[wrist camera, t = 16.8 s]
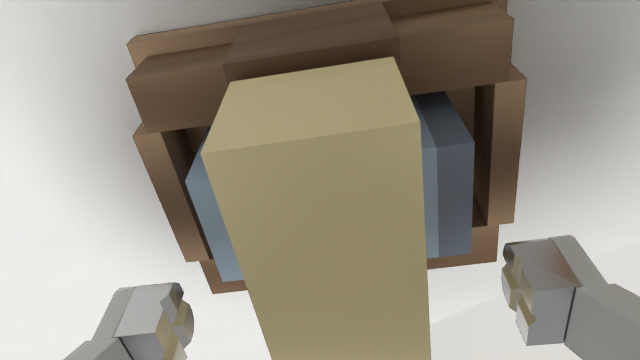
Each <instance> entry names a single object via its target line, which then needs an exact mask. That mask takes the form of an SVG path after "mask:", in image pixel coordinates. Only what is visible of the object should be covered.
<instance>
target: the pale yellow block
mask: <svg viewBox="0 0 640 360" xmlns="http://www.w3.org/2000/svg"><path fill="white" fill-rule="evenodd" d="M200 154H201V157H202V160H203V163H204V166H205V169H206V172H207V175H208V177H209V180H210V183H211V186H212V189H213V192H214V195H215V198H216V200H217V203H218V206H219V209H220V212H221V215H222V218H223V220H224V223H225V226H226V229H227V232H228V235H229V238H230V241H231V243H232V246H233V249H234V252H235V255H236V258H237V261H238V264H239V266H240V269H241V272H242V275H243V278H244V281H245V284H246V286H247V289H248V292H249V295H250V298H251V301H252V304H253V307H254V309H255V312H256V315H257V318H258V321H259V324H260V327H261V330H262V332H263V335H264V338H265V341H266V344H267V347H268V350H269V352H270V355H271V358H272V360H431V347H430V325H429V303H428V281H427V258H426V236H425V214H424V192H423V170H422V147H421V125H420V120H419V117H418V115H417V113H416V110H415V108H414V105H413V103H412V101H411V98H410V96H409V93H408V91H407V88H406V86H405V84H404V81H403V79H402V76H401V74H400V71H399V69H398V67H397V64H396V62H395V59H394V57H387V58H380V59H374V60H367V61H361V62H354V63H348V64H342V65H335V66H329V67H322V68H316V69H310V70H303V71H297V72H290V73H284V74H278V75H271V76H265V77H258V78H252V79H245V80H239V81H233V82H230V84H229V86H228V89H227V91H226V93H225V96H224V98H223V100H222V103H221V105H220V108H219V110H218V112H217V115H216V117H215V119H214V122H213V124H212V127H211V129H210V131H209V134H208V136H207V138H206V141H205V143H204V146H203V148H202V150H201V153H200Z"/></svg>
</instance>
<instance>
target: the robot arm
mask: <svg viewBox="0 0 640 360" xmlns="http://www.w3.org/2000/svg"><path fill="white" fill-rule="evenodd" d="M503 257H504V259H505V261H506V263H507V264H506V265H505V266H504V267H503V268H502V277H501V280H502V287H503V292H504V295H505V298H506V301H507V303H508V306H509V307H510V308H511V309H512V310H514V311H516V312H517V315H516V324H517V326H518V328H519V330H520V333H521V335H522V337H523V339H524V342H525V344H526V346H530V345H543V344H557V343H565V346H567V347H568V348H569V349H570V350H572V351H573V352H574V353H575V354H576V355H577V356H579V357H580V358H581V359H582V360H640V297H639V296H637V295H636V294H634V293H632V292H630V291H628V290H626V289H624V288H622V287H620V286H619V285H617V284H608V283H607V282H606V280H605V279H604V278H603V276H602V275H601V273H600V272H599V271H598V270H597V268H596V266H595V265H594V264H593V262H592V261H591V259H590V258H589V257H588V255H587V254H586V252H585V251H584V250H583V248H582V247H581V246H580V244H579V243H578V241H577V240H576V239H575V237H573V236H571V235H566V236H558V237H550V238H544V239H536V240H528V241H520V242H512V243H506V244H505V246H504V250H503ZM183 293H184V292H183V290H182V288H181V286H180V284H179V283H175V282H174V283H163V284H153V285H142V286H136V287H124V288H119V289H118V290H117V291H116V292H115V293H114V295H113V297H112V299H111V301H110V303H109V305H108V307H107V309H106V311H105V313H104V316H103V318H102V320H101V322H100V324H99V326H98V328H97V330H96V332H95V334H94V336H93V338H92V340H91V341H85V342H84V343H83V344H82V345H80V346H79V347H78V348H77V349H76V350H74V351H73V352H72V353H71V354H70V355H69V356H67V357H66V358H65V359H64V360H186V359H187V355H186V353H185V351H184V348H185V347H186V346H187V345H188V344H189V343H190V342H191V340H192V336H193V332H194V317H193V313H192V310H191V307H190V305H189V304H188V303H186V302H185V301H183V300H182V297H183Z"/></svg>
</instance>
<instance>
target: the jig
mask: <svg viewBox="0 0 640 360" xmlns="http://www.w3.org/2000/svg"><path fill="white" fill-rule="evenodd" d="M513 23H514V19H513V18H512V17H511V16H509V15H508V14H507V0H355V1H349V2H343V3H337V4H331V5H325V6H318V7H312V8H306V9H300V10H294V11H288V12H282V13H276V14H269V15H263V16H257V17H251V18H245V19H239V20H233V21H227V22H221V23H214V24H208V25H202V26H196V27H190V28H184V29H178V30H172V31H166V32H159V33H153V34H147V35H141V36H135V37H133V38H132V39H131V40H130V41H129V42H128V43H127V47H128V50H129V52H130V55H131V57H132V60H133V63H134V65H135V68H136V69H135V70H134V71H133V72H132V73H131V74H130V75H129V76H128V77H127V78H126V82H127V84H128V87H129V89H130V92H131V94H132V96H133V99H134V101H135V104H136V106H137V109H138V111H139V114H140V116H141V119H142V121H143V122H142V123H141V125H140V126H139V127H138V129H137V130H136V132H135V133H134V135H133V136H132V137H133V139H134V141H135V144H136V146H137V148H138V151H139V153H140V155H141V158H142V160H143V162H144V165H145V167H146V169H147V172H148V174H149V176H150V179H151V181H152V183H153V186H154V188H155V190H156V193H157V195H158V197H159V200H160V202H161V204H162V207H163V209H164V211H165V214H166V216H167V218H168V221H169V223H170V225H171V228H172V230H173V233H174V235H175V237H176V240H177V242H178V244H179V247H180V249H181V251H182V254H183V256H184V258H185V261H186V262H193V261H199V262H200V264H201V267H202V269H203V272H204V274H205V276H206V279H207V281H208V284H209V286H210V289H211V291H212V294H218V293H226V292H235V291H244V290H248V289H247V286H246V284H245V281H244V280H237V281H229V282H223V281H222V278H221V276H220V273H219V271H218V268H217V265H216V263H215V260H214V257H213V255H212V252H211V249H210V247H209V244H208V241H207V239H206V236H205V234H204V231H203V228H202V226H201V223H200V220H199V218H198V215H197V212H196V210H195V207H194V204H193V202H192V199H191V197H190V194H189V191H188V189H187V186H186V183H185V180H186V178H187V175H188V173H189V171H190V168H191V166H192V164H193V161H194V159H195V157H196V154H197V152H198V150H199V148H200V145H201V143H202V141H203V138H204V136H205V134H206V131H207V129H208V127H209V125H212V124H213V122H214V119H215V117H216V115H217V112H218V110H219V108H220V105H221V103H222V100H223V98H224V96H225V93H226V91H227V89H228V86H229V84H230V82H233V81H239V80H245V79H252V78H258V77H265V76H271V75H278V74H284V73H290V72H297V71H303V70H310V69H316V68H322V67H329V66H335V65H342V64H348V63H354V62H361V61H367V60H374V59H380V58H387V57H394V59H395V62H396V64H397V67H398V69H399V71H400V74H401V76H402V79H403V81H404V84H405V86H406V88H407V91H408V93H409V96H412V95H419V94H426V93H433V92H440V91H445V93H446V94H447V96H448V98H449V99H450V101H451V103H452V105H453V106H454V108H455V110H456V111H457V113H458V115H459V117H460V118H461V120H462V122H463V123H464V125H465V127H466V129H467V130H468V132H469V134H470V135H471V137H472V139H473V141H474V142H475V148H474V179H473V210H472V241H471V254H462V255H454V256H445V257H436V258H428V259H427V269H436V268H445V267H453V266H462V265H471V264H480V263H488V262H496V260H497V246H498V232H499V225H500V224H508V223H514V212H515V201H516V190H517V180H518V169H519V158H520V148H521V137H522V126H523V115H524V105H525V94H526V83H527V78H526V77H525V76H524V75H522V74H521V73H520V72H519V71H518V70H517V69H516V68H515V67H514V66H513V65H512V64H511V51H512V37H513Z"/></svg>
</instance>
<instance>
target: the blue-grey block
mask: <svg viewBox="0 0 640 360" xmlns="http://www.w3.org/2000/svg"><path fill="white" fill-rule="evenodd" d="M410 98H411V101H412V103H413V105H414V108H415V110H416V113H417V115H418V117H419V120H420V125H421V147H422V170H423V192H424V214H425V236H426V258H427V259H428V258H436V257H445V256H454V255H462V254H471V241H472V210H473V179H474V148H475V142H474V141H473V139H472V137H471V135H470V134H469V132H468V130H467V129H466V127H465V125H464V123H463V122H462V120H461V118H460V117H459V115H458V113H457V111H456V110H455V108H454V106H453V105H452V103H451V101H450V99H449V98H448V96H447V94H446V93H445V91H440V92H433V93H426V94H419V95H412V96H410ZM211 127H212V125H209V127H208V129H207V131H206V134H205V136H204V138H203V141H202V143H201V145H200V148H199V150H198V152H197V154H196V157H195V159H194V161H193V164H192V166H191V168H190V171H189V173H188V175H187V178H186V180H185V183H186V186H187V189H188V191H189V194H190V197H191V199H192V202H193V204H194V207H195V210H196V212H197V215H198V218H199V220H200V223H201V226H202V228H203V231H204V234H205V236H206V239H207V241H208V244H209V247H210V249H211V252H212V255H213V257H214V260H215V263H216V265H217V268H218V271H219V273H220V276H221V278H222V281H223V282H229V281H237V280H244V278H243V275H242V272H241V269H240V266H239V264H238V261H237V258H236V255H235V252H234V249H233V246H232V243H231V241H230V238H229V235H228V232H227V229H226V226H225V223H224V220H223V218H222V215H221V212H220V209H219V206H218V203H217V200H216V198H215V195H214V192H213V189H212V186H211V183H210V180H209V177H208V175H207V172H206V169H205V166H204V163H203V160H202V157H201V154H200V153H201V150H202V148H203V146H204V143H205V141H206V138H207V136H208V134H209V131H210V129H211Z"/></svg>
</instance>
